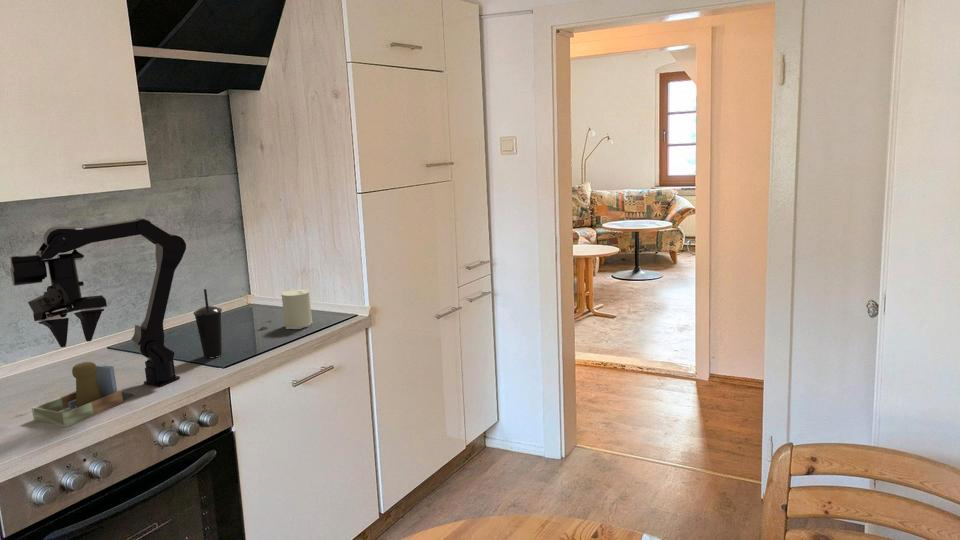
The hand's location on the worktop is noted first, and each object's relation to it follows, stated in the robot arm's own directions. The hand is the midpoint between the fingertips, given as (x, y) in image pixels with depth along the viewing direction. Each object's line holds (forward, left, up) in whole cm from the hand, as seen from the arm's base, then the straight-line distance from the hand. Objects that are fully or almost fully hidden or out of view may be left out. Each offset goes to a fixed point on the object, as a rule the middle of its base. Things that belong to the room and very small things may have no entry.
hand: (76, 344), depth 166 cm
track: (+3, +1, -16) cm, 16 cm away
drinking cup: (-40, +1, -16) cm, 43 cm away
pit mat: (-7, +1, -16) cm, 17 cm away
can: (-74, +5, -16) cm, 76 cm away
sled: (-1, +1, -16) cm, 16 cm away
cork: (0, +1, -16) cm, 16 cm away
